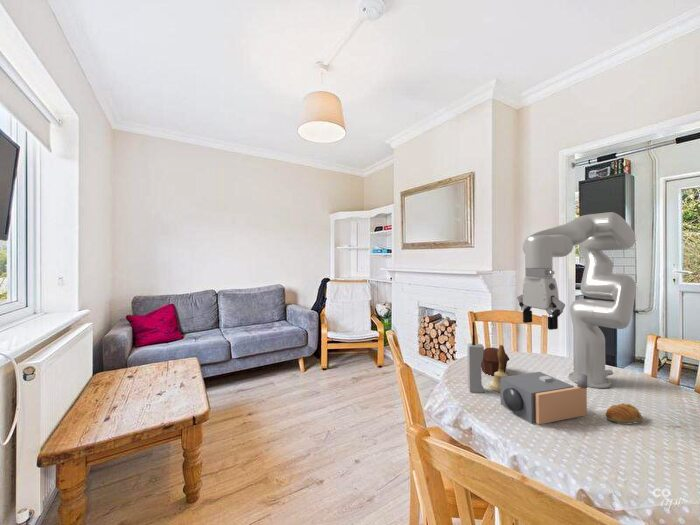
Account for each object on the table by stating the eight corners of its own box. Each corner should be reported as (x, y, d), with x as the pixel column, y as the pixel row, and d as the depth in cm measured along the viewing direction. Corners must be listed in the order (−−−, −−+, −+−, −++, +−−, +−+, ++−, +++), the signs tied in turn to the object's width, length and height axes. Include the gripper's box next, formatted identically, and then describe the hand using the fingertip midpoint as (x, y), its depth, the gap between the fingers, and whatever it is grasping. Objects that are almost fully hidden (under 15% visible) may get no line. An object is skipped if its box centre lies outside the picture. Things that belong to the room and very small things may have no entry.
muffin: (476, 374, 123) (476, 350, 122) (480, 365, 132) (480, 343, 132) (508, 380, 116) (508, 355, 116) (510, 370, 126) (510, 347, 126)
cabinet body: (539, 397, 102) (539, 369, 101) (574, 415, 90) (573, 383, 90) (496, 405, 97) (496, 375, 97) (527, 424, 86) (526, 391, 85)
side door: (581, 411, 91) (581, 373, 91) (589, 416, 89) (589, 376, 88) (533, 421, 86) (533, 380, 86) (540, 425, 84) (540, 383, 84)
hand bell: (510, 384, 113) (509, 342, 112) (516, 394, 104) (516, 349, 104) (486, 382, 115) (486, 341, 114) (491, 392, 107) (490, 348, 106)
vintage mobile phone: (484, 393, 106) (483, 323, 105) (469, 392, 107) (468, 323, 106) (482, 388, 109) (481, 321, 109) (467, 387, 110) (466, 321, 110)
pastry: (624, 428, 83) (624, 415, 83) (597, 417, 90) (597, 404, 89) (645, 422, 86) (644, 409, 86) (617, 411, 93) (617, 399, 93)
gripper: (573, 274, 89) (574, 331, 89) (527, 271, 105) (527, 319, 106) (552, 275, 87) (553, 333, 87) (509, 272, 104) (510, 321, 104)
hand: (539, 325), depth 97 cm, fingers open, 9 cm apart
